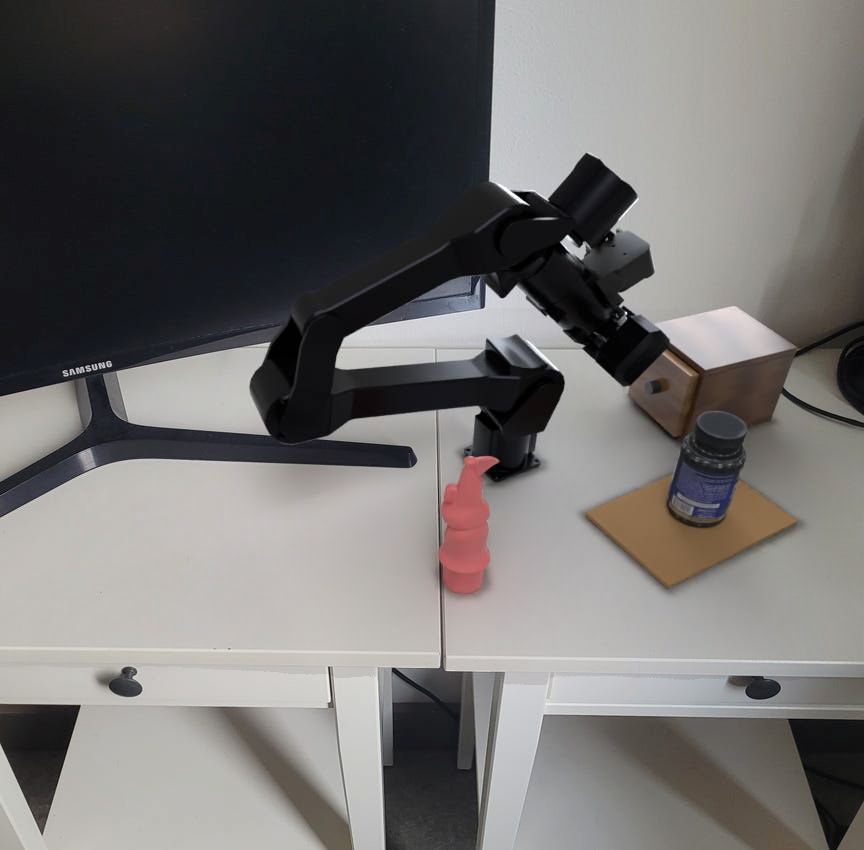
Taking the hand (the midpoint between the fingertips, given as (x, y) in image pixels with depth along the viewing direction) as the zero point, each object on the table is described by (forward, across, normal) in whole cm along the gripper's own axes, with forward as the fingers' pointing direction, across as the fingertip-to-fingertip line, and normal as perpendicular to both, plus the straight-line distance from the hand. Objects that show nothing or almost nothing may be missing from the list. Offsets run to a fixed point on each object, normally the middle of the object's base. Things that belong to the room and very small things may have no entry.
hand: (629, 354), depth 90 cm
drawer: (+14, 0, 0) cm, 14 cm away
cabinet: (+16, 0, -1) cm, 16 cm away
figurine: (-12, -15, +26) cm, 32 cm away
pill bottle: (+7, -16, +7) cm, 19 cm away
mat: (+6, -16, +8) cm, 19 cm away
